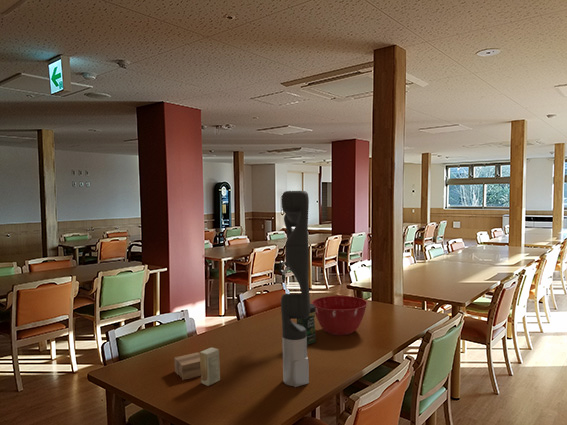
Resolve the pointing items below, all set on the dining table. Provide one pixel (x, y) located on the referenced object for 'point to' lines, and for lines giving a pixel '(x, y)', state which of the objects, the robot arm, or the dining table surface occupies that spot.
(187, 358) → the streaked beige block
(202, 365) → the skincare box
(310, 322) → the coffee jar
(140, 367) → the dining table surface
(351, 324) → the mixing bowl
